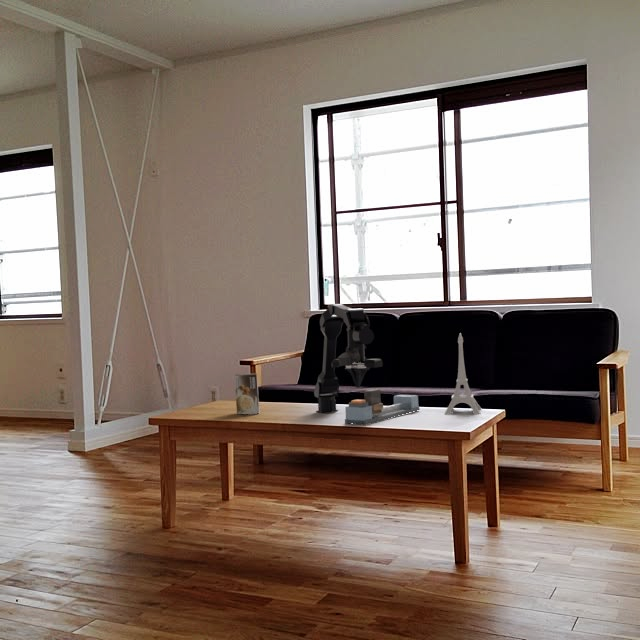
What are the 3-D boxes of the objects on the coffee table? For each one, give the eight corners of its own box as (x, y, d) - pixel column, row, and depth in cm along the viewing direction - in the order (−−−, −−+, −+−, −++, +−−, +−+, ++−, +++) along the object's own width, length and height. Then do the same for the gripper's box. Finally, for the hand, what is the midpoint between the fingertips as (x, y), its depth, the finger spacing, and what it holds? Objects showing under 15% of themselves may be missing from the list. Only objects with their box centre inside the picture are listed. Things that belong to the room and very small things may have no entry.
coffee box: (259, 412, 322) (258, 372, 322) (259, 414, 316) (257, 374, 315) (237, 413, 322) (235, 373, 322) (236, 415, 315) (234, 375, 315)
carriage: (362, 414, 288) (361, 390, 288) (372, 411, 292) (371, 389, 292) (374, 414, 285) (373, 391, 284) (383, 412, 289) (382, 389, 289)
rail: (344, 423, 282) (344, 402, 282) (399, 409, 311) (399, 390, 311) (365, 424, 277) (364, 403, 277) (419, 410, 306) (418, 391, 306)
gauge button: (351, 406, 281) (351, 400, 281) (357, 404, 284) (357, 399, 284) (359, 406, 279) (359, 401, 279) (365, 405, 282) (365, 399, 282)
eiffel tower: (446, 409, 307) (443, 333, 307) (481, 409, 304) (478, 331, 304) (444, 414, 294) (441, 334, 294) (480, 414, 291) (477, 333, 291)
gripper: (321, 345, 280) (323, 389, 280) (364, 345, 269) (366, 390, 269) (340, 343, 289) (341, 385, 289) (382, 342, 278) (384, 387, 278)
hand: (357, 387), depth 281 cm, fingers closed
